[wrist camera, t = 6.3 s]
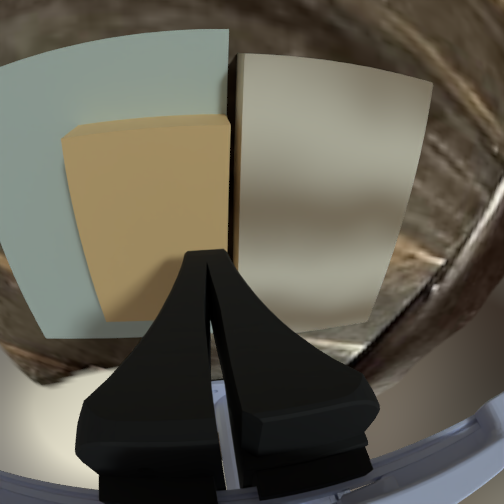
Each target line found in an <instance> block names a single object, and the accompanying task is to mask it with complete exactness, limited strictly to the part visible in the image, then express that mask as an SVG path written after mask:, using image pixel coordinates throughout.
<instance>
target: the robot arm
mask: <svg viewBox="0 0 504 504" xmlns="http://www.w3.org/2000/svg"><path fill="white" fill-rule="evenodd" d="M210 320H211V325H212V330H213V334H214V339H215V343H216V348H217V352H218V357H219V361H220V365H221V369H222V374H223V379H224V380H218V381H211V335H210ZM379 410H380V406H379V403H378V400H377V398H376V396H375V394H374V392H373V390H372V388H371V386H370V385H369V383H368V382H367V380H366V379H365V377H364V375H363V374H362V373H360V372H358V371H356V370H354V369H352V368H350V367H348V366H346V365H344V364H343V363H341V362H339V361H337V360H335V359H333V358H331V357H330V356H328V355H326V354H325V353H323V352H322V351H320V350H318V349H317V348H315V347H314V346H313V345H311V344H310V343H309V342H307V341H306V340H304V339H303V338H302V337H300V336H299V335H298V334H296V333H295V332H294V331H293V330H291V329H290V328H289V327H288V326H287V325H286V324H284V323H283V322H282V321H281V320H280V319H279V318H278V317H277V316H276V315H275V314H274V313H273V312H272V311H271V310H270V309H269V308H268V307H267V306H266V305H265V304H264V303H263V302H262V301H261V300H260V299H259V298H258V296H257V295H256V294H255V293H254V292H253V290H252V289H251V288H250V287H249V285H248V284H247V283H246V281H245V280H244V279H243V277H242V276H241V275H240V273H239V272H238V270H237V269H236V267H235V266H234V264H233V262H232V261H231V259H230V257H229V255H228V253H227V251H226V250H224V249H210V250H195V251H187V252H186V253H185V254H184V258H183V262H182V265H181V268H180V271H179V273H178V276H177V278H176V280H175V282H174V285H173V287H172V289H171V291H170V293H169V295H168V297H167V299H166V301H165V303H164V305H163V306H162V308H161V310H160V312H159V314H158V315H157V317H156V319H155V320H154V322H153V323H152V325H151V326H150V328H149V329H148V331H147V332H146V334H145V335H144V336H143V338H142V339H141V340H140V342H139V343H138V345H137V346H136V347H135V348H134V350H133V351H132V352H131V353H130V355H129V356H128V357H127V358H126V359H125V360H124V361H123V363H122V364H121V365H120V366H119V367H118V368H117V369H116V370H115V371H114V373H113V374H112V375H111V376H110V377H109V378H108V379H107V380H106V381H105V382H104V383H103V384H102V385H100V386H99V387H98V388H97V389H96V390H95V391H94V392H93V393H92V394H91V395H90V396H89V397H88V398H87V399H85V400H84V403H83V406H82V409H81V412H80V416H79V420H78V424H77V433H76V443H75V453H76V455H77V456H78V457H79V459H80V460H81V461H82V462H83V463H85V464H86V465H87V466H89V467H90V468H91V469H92V470H93V471H95V472H96V473H97V474H99V490H94V489H86V488H79V487H72V486H66V485H60V484H54V483H49V482H44V481H40V480H35V479H31V478H26V477H22V476H18V475H15V474H11V473H7V472H4V471H0V504H457V503H459V502H460V501H462V500H463V499H465V498H466V497H467V496H469V495H470V494H472V493H473V492H474V491H476V490H477V489H478V488H480V487H481V486H482V485H484V484H485V483H486V482H488V481H489V480H490V479H491V478H493V477H494V476H495V475H496V474H498V473H499V472H500V471H501V470H503V469H504V392H502V393H500V394H499V395H497V396H495V397H494V398H492V399H490V400H489V401H487V402H486V403H485V404H484V405H482V406H481V407H480V408H479V409H478V410H477V411H476V413H475V414H474V415H472V416H470V417H468V418H466V419H465V420H463V421H461V422H459V423H457V424H455V425H453V426H451V427H449V428H447V429H445V430H443V431H441V432H438V433H436V434H434V435H432V436H429V437H427V438H425V439H423V440H420V441H418V442H416V443H414V444H411V445H408V446H406V447H403V448H401V449H398V450H396V451H393V452H390V453H388V454H385V455H382V456H379V457H377V458H373V459H370V458H369V456H368V453H367V451H366V448H365V446H367V445H368V440H367V438H366V435H365V433H364V432H365V431H366V429H367V428H368V427H369V426H370V424H371V423H372V422H373V421H374V419H375V418H376V416H377V414H378V413H379ZM218 432H219V439H220V446H221V453H222V459H223V466H224V472H225V478H226V484H227V490H226V486H225V480H224V473H223V467H222V460H221V453H220V447H219V440H218ZM370 483H371V484H370ZM367 484H369V485H367ZM364 485H366V486H364ZM361 486H364V487H362V488H359V489H357V490H354V491H352V492H350V490H352V489H355V488H358V487H361Z"/></svg>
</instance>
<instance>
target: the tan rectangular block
mask: <svg viewBox="0 0 504 504" xmlns="http://www.w3.org/2000/svg"><path fill="white" fill-rule="evenodd" d="M230 133H231V124H230V123H229V121H228V119H227V117H226V115H225V114H197V115H173V116H157V117H144V118H133V119H123V120H114V121H105V122H97V123H90V124H83V125H78V126H77V127H75V128H74V129H73V130H71V131H70V132H69V133H67V134H66V135H65V136H64V137H62V138H61V144H62V151H63V157H64V163H65V169H66V175H67V180H68V186H69V191H70V196H71V201H72V205H73V210H74V214H75V219H76V223H77V227H78V231H79V235H80V239H81V243H82V247H83V250H84V254H85V257H86V261H87V264H88V268H89V271H90V275H91V278H92V281H93V284H94V288H95V291H96V294H97V297H98V300H99V303H100V306H101V309H102V311H103V314H104V317H105V320H106V322H126V321H154V320H155V319H156V317H157V315H158V314H159V312H160V310H161V308H162V306H163V305H164V303H165V301H166V299H167V297H168V295H169V293H170V291H171V289H172V287H173V285H174V282H175V280H176V278H177V276H178V273H179V271H180V268H181V265H182V262H183V258H184V254H185V253H186V252H187V251H195V250H210V249H224V250H226V251H227V246H228V198H229V162H230Z"/></svg>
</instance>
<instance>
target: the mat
mask: <svg viewBox="0 0 504 504" xmlns="http://www.w3.org/2000/svg"><path fill="white" fill-rule="evenodd" d="M228 43H229V29H199V30H178V31H164V32H153V33H143V34H135V35H127V36H121V37H114V38H108V39H102V40H97V41H92V42H87V43H82V44H77V45H73V46H69V47H65V48H61V49H57V50H53V51H49V52H45V53H42V54H38V55H35V56H32V57H29V58H25V59H22V60H19V61H16V62H13V63H10V64H8V65H5V66H2V67H0V242H1V245H2V247H3V250H4V253H5V255H6V257H7V260H8V262H9V265H10V267H11V269H12V272H13V274H14V276H15V278H16V281H17V283H18V285H19V287H20V289H21V291H22V293H23V296H24V298H25V300H26V302H27V304H28V306H29V308H30V310H31V311H32V313H33V315H34V317H35V319H36V321H37V323H38V325H39V326H40V328H41V330H42V332H43V334H44V335H45V337H46V338H131V337H143V336H144V335H145V334H146V332H147V331H148V329H149V328H150V326H151V325H152V323H153V322H154V321H126V322H106V320H105V317H104V314H103V311H102V309H101V306H100V303H99V300H98V297H97V294H96V291H95V288H94V284H93V281H92V278H91V275H90V271H89V268H88V264H87V261H86V257H85V254H84V250H83V247H82V243H81V239H80V235H79V231H78V227H77V223H76V219H75V214H74V210H73V205H72V201H71V196H70V191H69V186H68V180H67V175H66V169H65V163H64V157H63V151H62V144H61V138H62V137H64V136H65V135H66V134H67V133H69V132H70V131H71V130H73V129H74V128H75V127H77V126H78V125H83V124H90V123H97V122H105V121H114V120H123V119H133V118H144V117H157V116H173V115H197V114H225V115H226V117H227V75H228ZM210 333H213V330H212V325H211V320H210Z"/></svg>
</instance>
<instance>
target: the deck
mask: <svg viewBox="0 0 504 504" xmlns="http://www.w3.org/2000/svg"><path fill="white" fill-rule="evenodd" d="M432 88H433V83H431V82H428V81H424V80H421V79H417V78H413V77H409V76H406V75H402V74H397V73H393V72H389V71H384V70H380V69H375V68H370V67H365V66H359V65H354V64H348V63H342V62H335V61H328V60H321V59H313V58H304V57H294V56H282V55H267V54H241V53H237V69H236V101H235V139H234V190H233V264H234V266H235V267H236V269H237V270H238V272H239V273H240V275H241V276H242V277H243V279H244V280H245V281H246V283H247V284H248V285H249V287H250V288H251V289H252V290H253V292H254V293H255V294H256V295H257V296H258V298H259V299H260V300H261V301H262V302H263V303H264V304H265V305H266V306H267V307H268V308H269V309H270V310H271V311H272V312H273V313H274V314H275V315H276V316H277V317H278V318H279V319H280V320H281V321H282V322H283V323H284V324H286V325H287V326H288V327H289V328H290V329H291V330H293V331H294V332H295V333H298V332H305V331H312V330H319V329H326V328H332V327H339V326H345V325H351V324H357V323H362V322H367V321H368V319H369V316H370V314H371V311H372V309H373V306H374V303H375V301H376V298H377V296H378V293H379V290H380V288H381V285H382V282H383V279H384V277H385V274H386V271H387V268H388V265H389V262H390V259H391V256H392V253H393V250H394V247H395V244H396V241H397V238H398V235H399V231H400V228H401V225H402V222H403V218H404V215H405V211H406V208H407V204H408V201H409V197H410V193H411V189H412V186H413V182H414V178H415V174H416V170H417V165H418V161H419V157H420V152H421V148H422V143H423V138H424V134H425V129H426V123H427V118H428V112H429V107H430V101H431V95H432Z"/></svg>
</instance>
